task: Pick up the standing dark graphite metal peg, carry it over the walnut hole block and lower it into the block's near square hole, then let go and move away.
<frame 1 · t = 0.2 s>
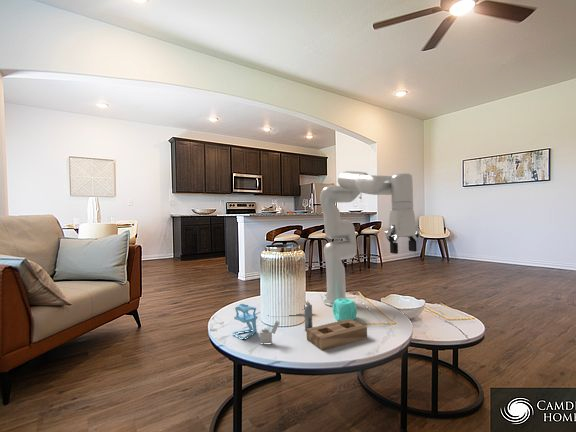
hand: (403, 252, 113), 31 cm above the table, tool pointing down, fingers open, 9 cm apart
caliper: (289, 315, 139), on the table
peg: (308, 330, 119), on the table
decorative dice: (344, 319, 131), on the table
lighter: (270, 343, 108), on the table
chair: (246, 335, 117), on the table
hole block: (337, 338, 111), on the table
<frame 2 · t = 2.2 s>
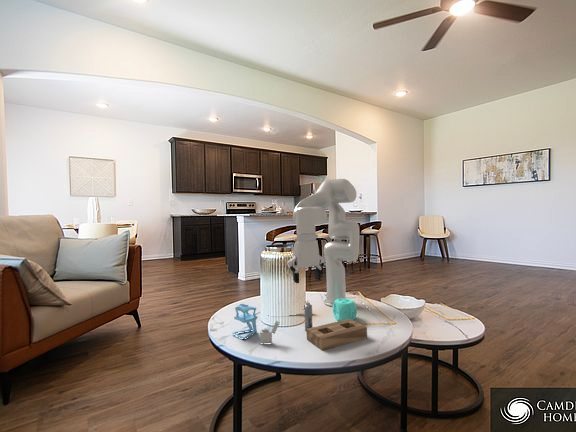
hand: (307, 281, 119), 20 cm above the table, tool pointing down, fingers open, 9 cm apart
nothing on the table moved.
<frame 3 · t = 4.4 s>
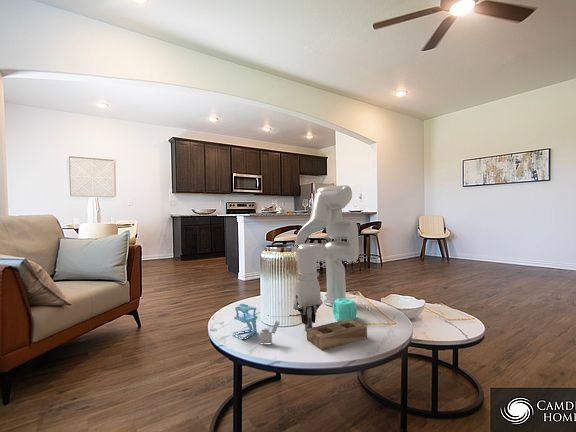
hand: (308, 322, 119), 3 cm above the table, tool pointing down, fingers closed on peg, 3 cm apart
peg: (308, 330, 119), on the table, touching gripper
everything else where it was.
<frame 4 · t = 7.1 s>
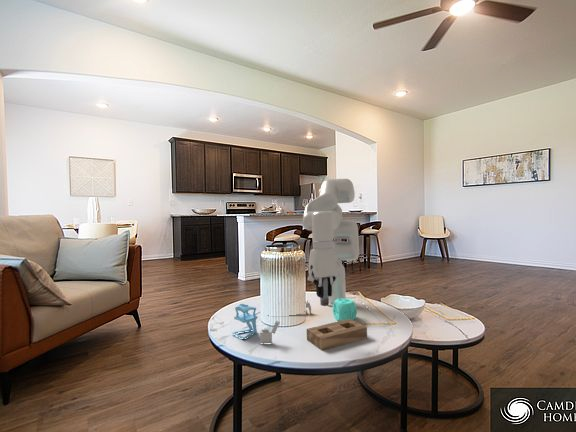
hand: (324, 295, 108), 17 cm above the table, tool pointing down, fingers closed on peg, 3 cm apart
peg: (324, 304, 108), point 13 cm above the table, touching gripper
everything else where it was.
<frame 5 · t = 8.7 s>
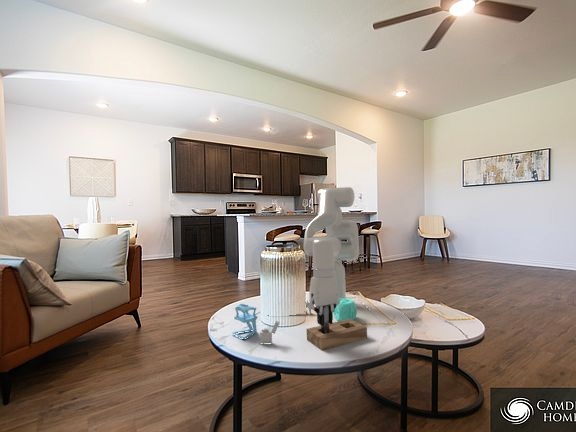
hand: (325, 323, 108), 7 cm above the table, tool pointing down, fingers closed on peg, 3 cm apart
peg: (325, 332, 108), point 4 cm above the table, touching gripper
everything else where it was.
when the fingers open (5 cm above the table, at t = 10.0 s): peg drops 2 cm, resting in hole block.
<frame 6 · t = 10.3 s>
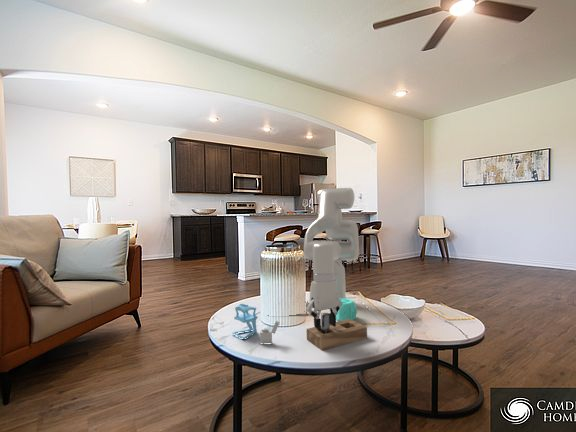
hand: (325, 326, 108), 6 cm above the table, tool pointing down, fingers open, 5 cm apart
peg: (325, 341, 108), resting in hole block
everything else where it was.
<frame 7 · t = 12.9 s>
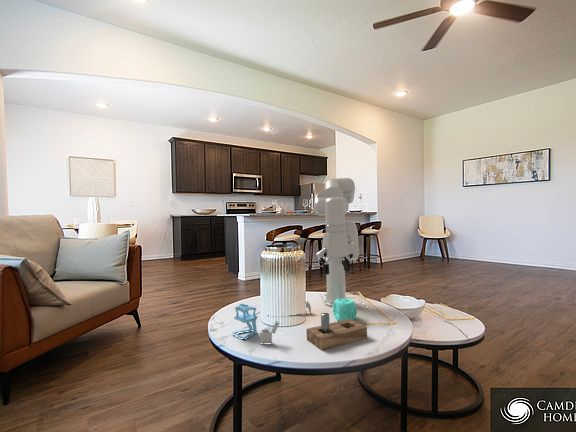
hand: (336, 272, 118), 23 cm above the table, tool pointing down, fingers open, 9 cm apart
nothing on the table moved.
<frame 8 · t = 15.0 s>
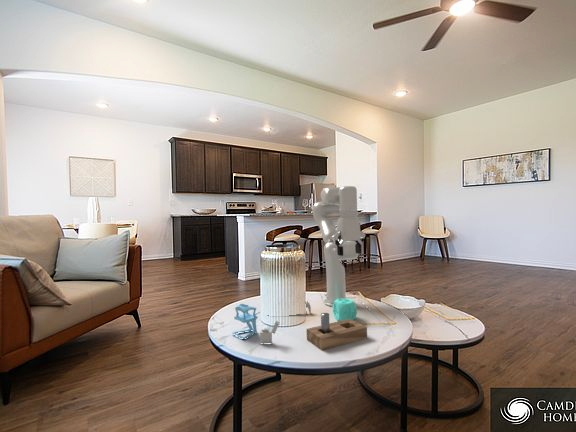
hand: (349, 254, 129), 28 cm above the table, tool pointing down, fingers open, 9 cm apart
nothing on the table moved.
at the end: peg 0.1 cm from the target spot on the hole block, point 0.0 cm above the hole block's base; peg tilted 0°; the gripper is holding nothing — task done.
